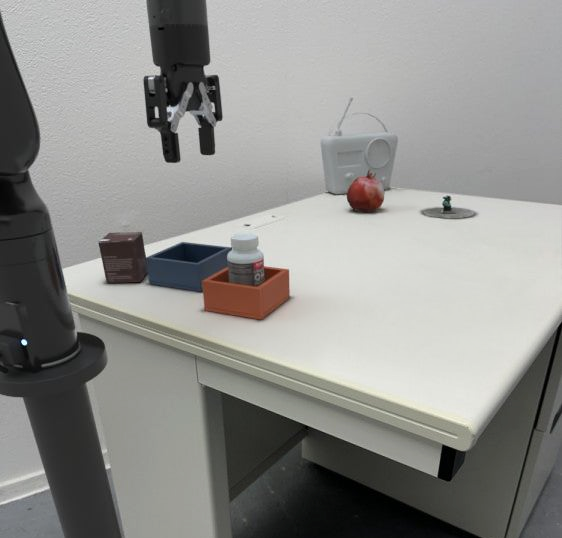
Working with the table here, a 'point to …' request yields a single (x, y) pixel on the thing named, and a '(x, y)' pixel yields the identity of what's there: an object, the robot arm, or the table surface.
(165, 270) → the slate bin
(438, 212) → the sculpture
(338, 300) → the table surface
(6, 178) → the robot arm
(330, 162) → the radio
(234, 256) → the pill bottle
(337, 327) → the table surface
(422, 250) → the table surface
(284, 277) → the terracotta bin
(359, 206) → the fruit
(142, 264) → the box
